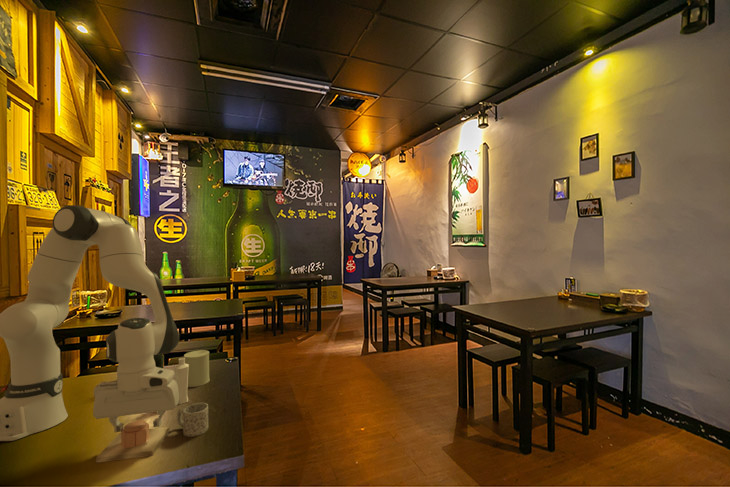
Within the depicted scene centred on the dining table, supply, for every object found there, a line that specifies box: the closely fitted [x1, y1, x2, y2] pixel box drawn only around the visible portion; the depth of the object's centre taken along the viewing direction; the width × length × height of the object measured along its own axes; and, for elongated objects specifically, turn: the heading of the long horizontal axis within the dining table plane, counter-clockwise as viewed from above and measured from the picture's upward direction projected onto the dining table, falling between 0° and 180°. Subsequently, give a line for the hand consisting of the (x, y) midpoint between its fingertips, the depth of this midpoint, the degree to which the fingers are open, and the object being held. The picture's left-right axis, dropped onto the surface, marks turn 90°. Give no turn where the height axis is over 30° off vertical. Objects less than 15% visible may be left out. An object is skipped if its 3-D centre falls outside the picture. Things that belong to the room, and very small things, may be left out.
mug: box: [176, 402, 209, 438], centre depth 100 cm, size 10×7×7 cm, turn 73°
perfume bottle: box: [173, 357, 189, 405], centre depth 119 cm, size 5×4×15 cm
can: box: [183, 349, 211, 388], centre depth 136 cm, size 9×9×12 cm
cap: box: [121, 419, 150, 448], centre depth 93 cm, size 6×6×4 cm
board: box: [95, 426, 171, 464], centre depth 93 cm, size 13×12×1 cm
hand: (138, 428), depth 93 cm, fingers open, 8 cm apart
